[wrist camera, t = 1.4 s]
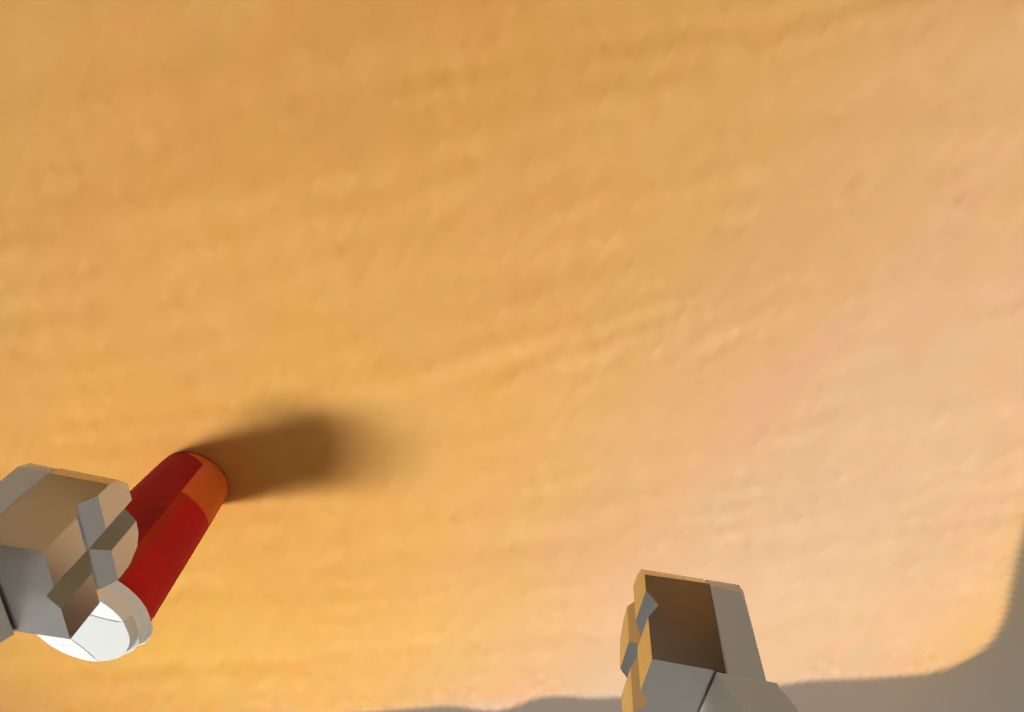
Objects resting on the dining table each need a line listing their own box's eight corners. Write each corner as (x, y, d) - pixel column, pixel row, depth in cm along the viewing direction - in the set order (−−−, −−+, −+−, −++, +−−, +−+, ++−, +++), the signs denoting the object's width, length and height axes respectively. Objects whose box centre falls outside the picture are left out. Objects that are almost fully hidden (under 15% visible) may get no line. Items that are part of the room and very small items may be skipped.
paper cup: (134, 483, 54) (1, 628, 42) (167, 423, 51) (34, 562, 38) (220, 531, 56) (117, 684, 44) (259, 476, 52) (158, 625, 40)
